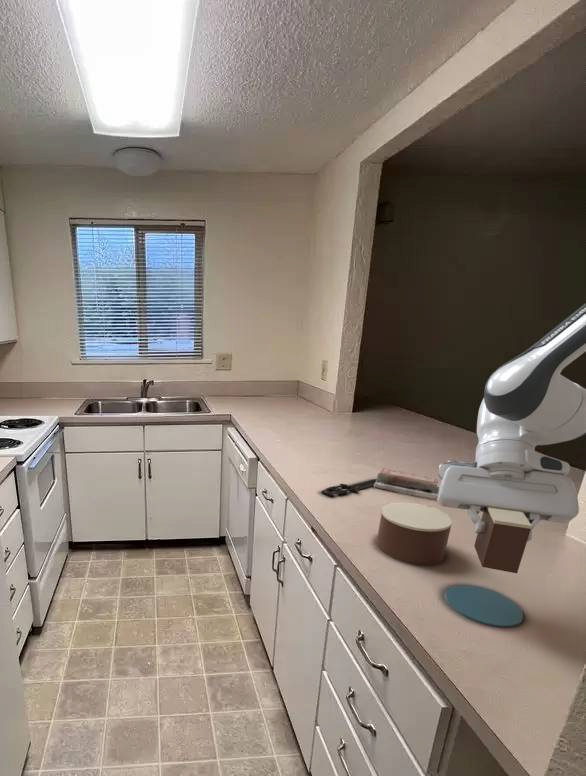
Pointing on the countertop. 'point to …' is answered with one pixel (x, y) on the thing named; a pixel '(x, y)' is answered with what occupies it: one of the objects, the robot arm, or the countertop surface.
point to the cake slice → (502, 539)
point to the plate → (484, 606)
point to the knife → (348, 488)
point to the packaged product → (407, 483)
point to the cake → (413, 532)
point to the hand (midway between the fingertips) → (502, 536)
